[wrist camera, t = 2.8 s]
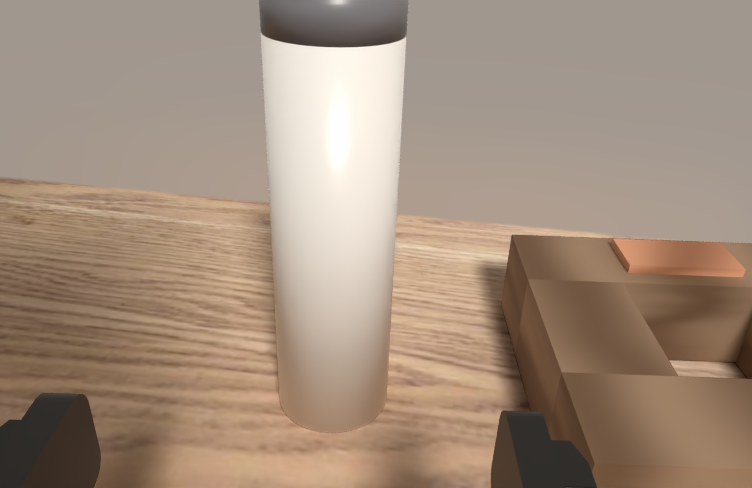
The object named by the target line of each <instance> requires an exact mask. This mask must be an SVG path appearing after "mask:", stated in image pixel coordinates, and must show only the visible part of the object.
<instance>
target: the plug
mask: <svg viewBox="0 0 752 488" xmlns="http://www.w3.org/2000/svg"><path fill="white" fill-rule="evenodd" d="M259 5H260V6H259V7H260V26H261V46H262V66H263V85H264V105H265V125H266V145H267V162H268V163H267V164H268V184H269V204H270V223H271V243H272V263H273V282H274V302H275V322H276V341H277V361H278V380H279V399H280V404H281V407H282V409H283V411H284V412H285V414H286V415H287V416H288V417H289V418H290V419H291V420H292V421H293V422H295V423H296V424H298V425H300V426H302V427H304V428H306V429H309V430H313V431H317V432H323V433H340V432H347V431H352V430H355V429H358V428H360V427H362V426H365V425H366V424H368V423H370V422H371V421H373V420H374V419H375V418H376V417H377V416H378V415H379V414H380V413H381V411H382V410H383V408H384V406H385V403H386V398H387V382H388V364H389V345H390V327H391V308H392V290H393V272H394V253H395V235H396V216H397V197H398V179H399V161H400V142H401V124H402V106H403V87H404V68H405V50H406V31H407V13H408V0H259Z"/></svg>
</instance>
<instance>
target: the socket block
mask: <svg viewBox="0 0 752 488" xmlns="http://www.w3.org/2000/svg"><path fill="white" fill-rule="evenodd" d="M501 305H502V309H503V313H504V316H505V320H506V324H507V327H508V331H509V335H510V338H511V342H512V345H513V349H514V353H515V356H516V360H517V364H518V367H519V371H520V374H521V378H522V382H523V385H524V389H525V393H526V396H527V400H528V404H529V407H530V411H533V412H541V413H542V414H543V416H544V418H545V421H546V425H547V428H548V432H549V435H550V438H551V440H561V441H571V443H572V444H573V445H574V446H575V447H576V448H577V450H578V451H579V452H580V453H581V454H582V455H583V457H584V458H585V459H586V460H587V461H588V463H589V465H590V468H591V471H592V474H593V477H594V480H595V482H596V485H597V488H752V244H751V243H724V242H698V241H697V242H696V241H671V240H643V239H616V238H589V237H561V236H534V235H512V237H511V244H510V250H509V257H508V263H507V270H506V276H505V283H504V289H503V296H502V302H501ZM669 360H690V361H718V362H736V364H737V365H738V366H739V368H740V369H741V370H742V372H743V373H744V374H745V376H746V377H747V379H738V378H710V377H682V376H678V375H677V373H676V371H675V370H674V368H673V366H672V365H671V363H670V361H669Z"/></svg>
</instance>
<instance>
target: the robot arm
mask: <svg viewBox="0 0 752 488" xmlns="http://www.w3.org/2000/svg"><path fill="white" fill-rule="evenodd" d="M100 461H101V455H100V448H99V444H98V439H97V435H96V431H95V427H94V423H93V418H92V414H91V410H90V406H89V402H88V399H87V397H86V396H85V395H83V394H61V393H42V394H40V395H39V396H38V397H37V398H36V399H35V401H34V402H33V404H32V405H31V407H30V408H29V409H28V411H27V412H26V414H25V415H24V417H23V418H22V420H9V421H7V422H6V423H5V424H3V425H2V426H1V427H0V488H94V486H95V483H96V481H97V478H98V474H99V469H100ZM491 488H597V485H596V482H595V480H594V477H593V474H592V471H591V468H590V465H589V463H588V461H587V460H586V459H585V458H584V457H583V455H582V454H581V453H580V452H579V451H578V450H577V448H576V447H575V446H574V445H573V444H572V443H571V441H561V440H551V438H550V435H549V432H548V428H547V425H546V421H545V418H544V416H543V414H542V413H541V412H533V411H504V410H503V411H502V412H501V415H500V419H499V425H498V431H497V437H496V443H495V449H494V455H493V461H492V469H491Z"/></svg>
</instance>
